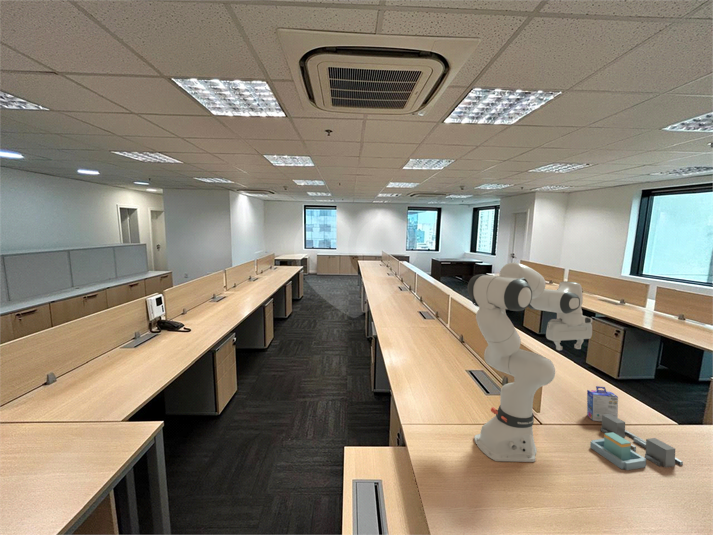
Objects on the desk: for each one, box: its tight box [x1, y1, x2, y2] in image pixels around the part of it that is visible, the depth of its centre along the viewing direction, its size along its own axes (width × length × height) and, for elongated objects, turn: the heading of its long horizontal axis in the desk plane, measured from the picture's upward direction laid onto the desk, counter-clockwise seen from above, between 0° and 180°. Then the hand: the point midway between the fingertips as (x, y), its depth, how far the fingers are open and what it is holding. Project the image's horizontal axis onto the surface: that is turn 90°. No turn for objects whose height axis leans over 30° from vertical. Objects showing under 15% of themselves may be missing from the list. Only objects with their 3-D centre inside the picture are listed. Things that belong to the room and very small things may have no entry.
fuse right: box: [645, 437, 676, 469], centre depth 102 cm, size 4×6×6 cm, turn 9°
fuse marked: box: [603, 432, 632, 461], centre depth 104 cm, size 4×6×6 cm
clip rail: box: [600, 426, 684, 467], centre depth 110 cm, size 12×22×2 cm, turn 9°
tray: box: [589, 438, 647, 471], centre depth 104 cm, size 10×12×2 cm
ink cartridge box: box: [586, 385, 619, 422], centre depth 128 cm, size 10×6×14 cm, turn 76°
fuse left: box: [601, 414, 626, 439], centre depth 117 cm, size 4×6×6 cm, turn 9°
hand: (568, 349), depth 122 cm, fingers open, 8 cm apart
